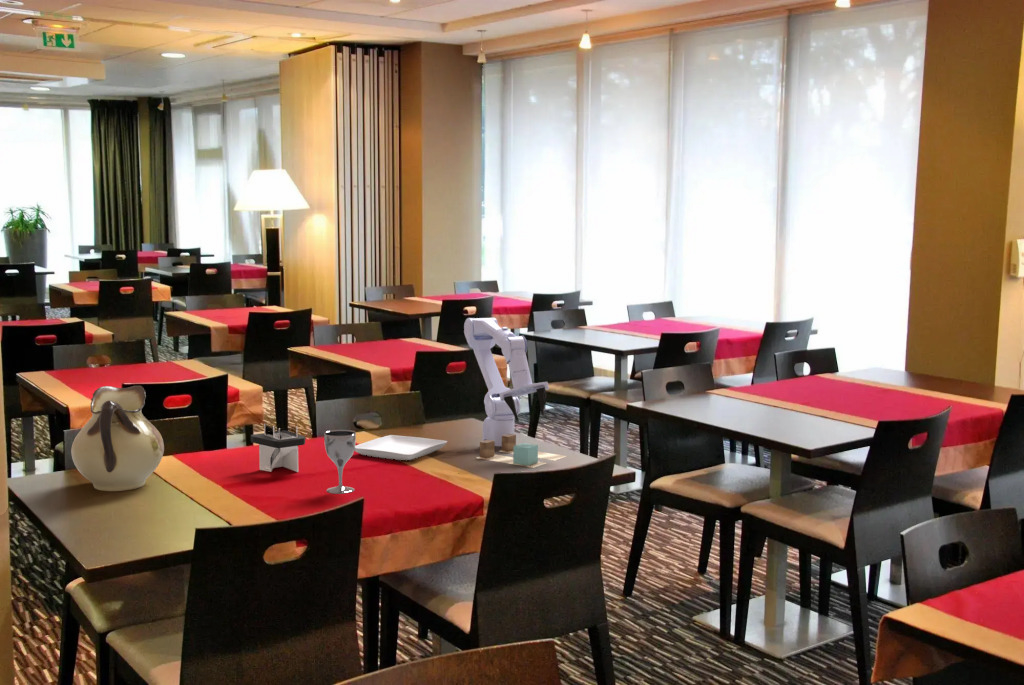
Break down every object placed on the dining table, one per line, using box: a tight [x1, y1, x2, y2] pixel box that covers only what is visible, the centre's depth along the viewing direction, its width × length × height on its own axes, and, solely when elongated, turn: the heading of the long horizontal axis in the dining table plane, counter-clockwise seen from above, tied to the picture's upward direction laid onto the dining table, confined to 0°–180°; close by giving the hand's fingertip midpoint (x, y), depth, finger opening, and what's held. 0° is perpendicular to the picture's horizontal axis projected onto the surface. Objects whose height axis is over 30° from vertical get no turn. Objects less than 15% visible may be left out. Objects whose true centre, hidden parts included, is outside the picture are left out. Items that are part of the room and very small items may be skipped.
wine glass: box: [323, 429, 357, 495], centre depth 271 cm, size 8×8×15 cm
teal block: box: [512, 442, 539, 466], centre depth 300 cm, size 5×5×5 cm
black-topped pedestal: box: [250, 423, 306, 473], centre depth 291 cm, size 28×26×13 cm
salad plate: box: [354, 434, 448, 462], centre depth 315 cm, size 21×21×3 cm
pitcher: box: [70, 385, 165, 492], centre depth 272 cm, size 22×24×25 cm
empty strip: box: [497, 433, 568, 461], centre depth 312 cm, size 20×7×5 cm, turn 55°
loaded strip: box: [476, 440, 547, 469], centre depth 303 cm, size 20×7×5 cm, turn 55°
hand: (530, 417), depth 307 cm, fingers open, 7 cm apart
